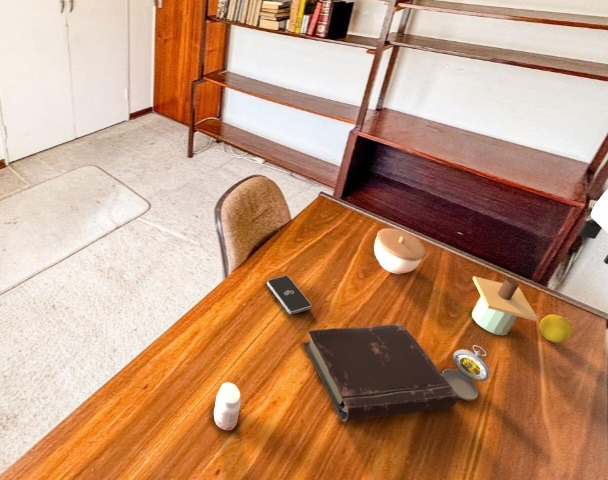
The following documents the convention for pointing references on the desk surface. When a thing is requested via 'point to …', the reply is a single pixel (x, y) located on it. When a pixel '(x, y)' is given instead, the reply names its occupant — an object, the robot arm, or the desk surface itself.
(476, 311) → the cup
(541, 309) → the desk surface
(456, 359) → the pocket watch
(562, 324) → the lemon
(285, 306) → the external hard drive
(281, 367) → the desk surface
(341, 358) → the diary
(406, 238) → the lidded bowl
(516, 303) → the square peg board
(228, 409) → the pill bottle
